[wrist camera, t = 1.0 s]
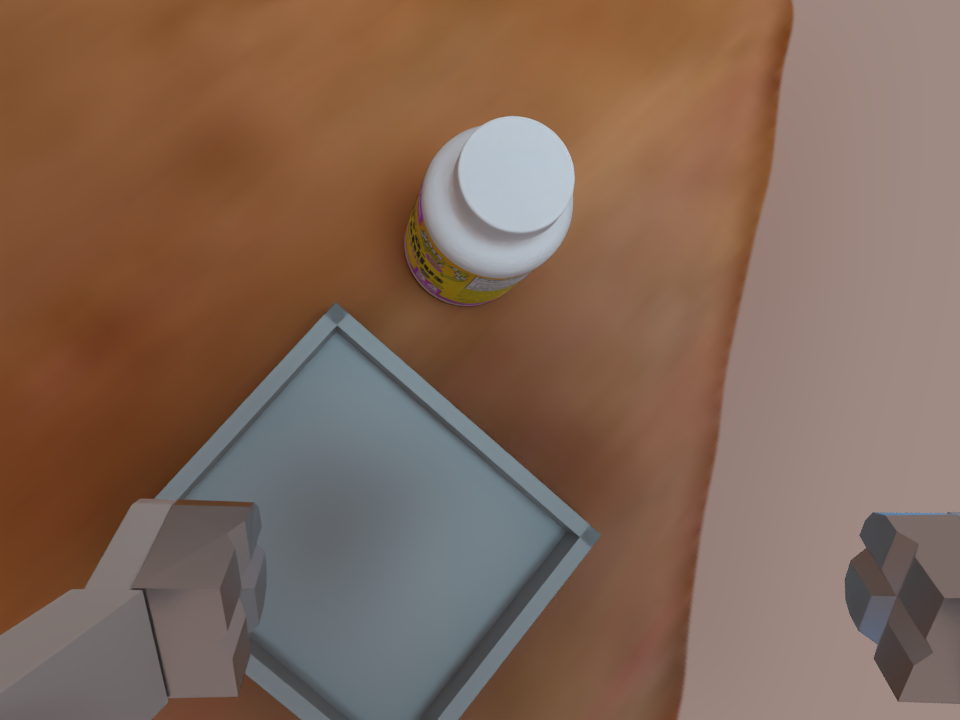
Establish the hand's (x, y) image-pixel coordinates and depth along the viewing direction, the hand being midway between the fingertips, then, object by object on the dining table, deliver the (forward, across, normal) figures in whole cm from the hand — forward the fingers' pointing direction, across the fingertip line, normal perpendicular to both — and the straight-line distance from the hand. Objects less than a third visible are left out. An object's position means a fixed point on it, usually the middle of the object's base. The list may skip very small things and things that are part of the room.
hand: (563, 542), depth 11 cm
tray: (+23, +6, +21) cm, 32 cm away
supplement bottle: (+33, +1, +9) cm, 34 cm away
